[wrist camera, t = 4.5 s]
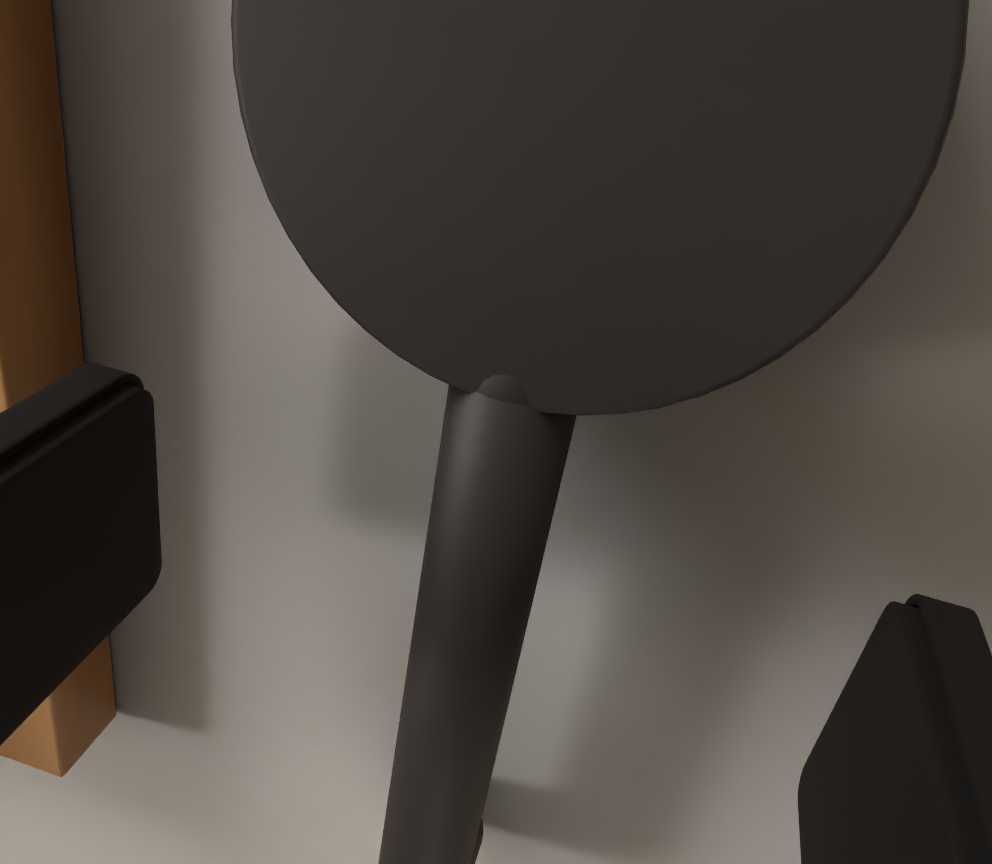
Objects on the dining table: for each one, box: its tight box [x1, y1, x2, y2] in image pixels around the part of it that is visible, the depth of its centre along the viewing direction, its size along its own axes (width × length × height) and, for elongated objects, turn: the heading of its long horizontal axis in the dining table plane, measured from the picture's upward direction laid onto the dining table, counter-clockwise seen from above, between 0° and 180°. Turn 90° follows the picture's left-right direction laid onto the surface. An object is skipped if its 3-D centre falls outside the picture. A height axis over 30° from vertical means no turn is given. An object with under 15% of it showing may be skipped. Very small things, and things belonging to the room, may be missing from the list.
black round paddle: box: [231, 0, 969, 864], centre depth 10 cm, size 15×6×3 cm, turn 171°
